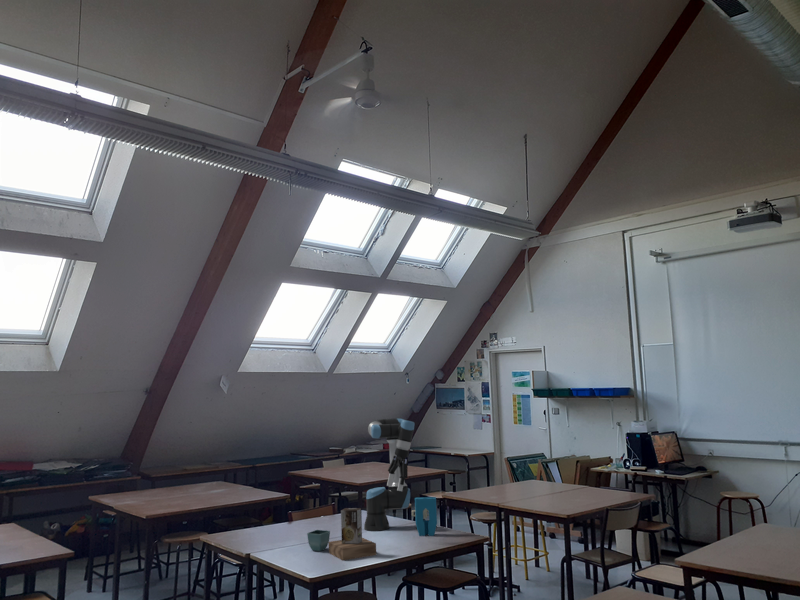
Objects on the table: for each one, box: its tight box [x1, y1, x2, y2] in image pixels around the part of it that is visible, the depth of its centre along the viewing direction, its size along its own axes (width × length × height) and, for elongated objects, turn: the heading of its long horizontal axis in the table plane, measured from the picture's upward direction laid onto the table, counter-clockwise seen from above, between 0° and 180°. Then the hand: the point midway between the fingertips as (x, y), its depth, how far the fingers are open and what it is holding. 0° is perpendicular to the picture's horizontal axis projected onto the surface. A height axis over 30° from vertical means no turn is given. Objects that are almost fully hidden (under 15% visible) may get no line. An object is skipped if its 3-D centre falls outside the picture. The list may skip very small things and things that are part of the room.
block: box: [414, 496, 438, 537], centre depth 335 cm, size 12×5×20 cm, turn 86°
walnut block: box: [328, 537, 377, 561], centre depth 296 cm, size 18×18×6 cm
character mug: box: [411, 508, 429, 530], centre depth 348 cm, size 11×7×13 cm, turn 84°
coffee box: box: [340, 507, 363, 544], centre depth 298 cm, size 9×6×16 cm
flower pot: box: [306, 529, 331, 552], centre depth 307 cm, size 9×9×9 cm
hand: (394, 488), depth 319 cm, fingers open, 13 cm apart
